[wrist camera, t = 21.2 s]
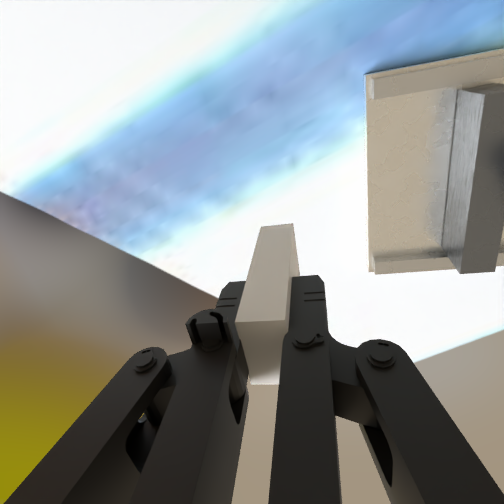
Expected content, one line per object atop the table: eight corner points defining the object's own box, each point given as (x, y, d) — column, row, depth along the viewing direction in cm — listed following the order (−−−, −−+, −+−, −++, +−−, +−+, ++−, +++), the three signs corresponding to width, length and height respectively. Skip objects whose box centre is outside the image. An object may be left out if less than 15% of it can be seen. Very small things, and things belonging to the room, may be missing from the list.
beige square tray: (363, 74, 31) (375, 77, 25) (653, 19, 26) (746, 8, 21) (366, 265, 41) (376, 297, 35) (578, 249, 36) (627, 284, 31)
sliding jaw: (458, 89, 29) (484, 94, 25) (497, 83, 28) (531, 87, 24) (441, 248, 37) (459, 273, 32) (472, 246, 36) (494, 271, 32)
